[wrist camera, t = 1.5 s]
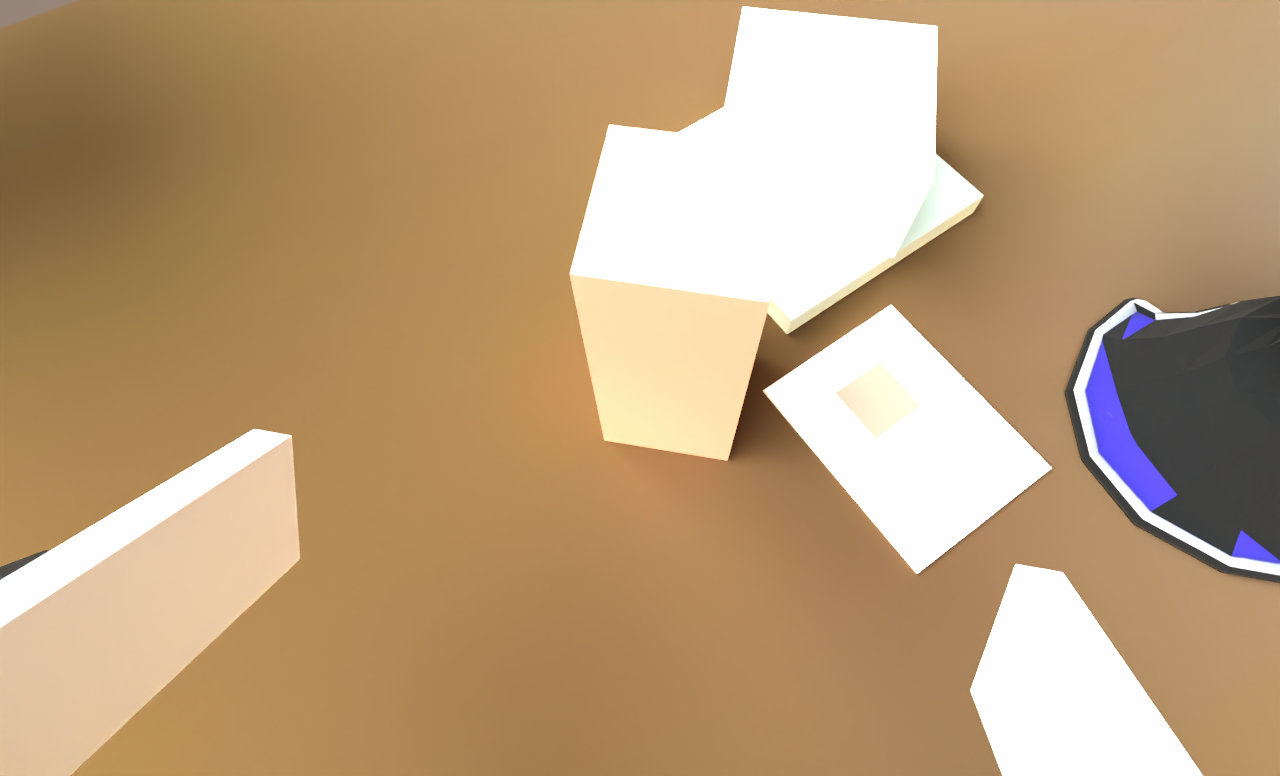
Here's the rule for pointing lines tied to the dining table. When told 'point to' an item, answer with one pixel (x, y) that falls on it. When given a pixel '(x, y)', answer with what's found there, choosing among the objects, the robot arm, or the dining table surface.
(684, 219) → the tall brick
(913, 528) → the page
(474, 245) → the dining table surface
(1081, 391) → the figurine
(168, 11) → the dining table surface
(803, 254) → the plate
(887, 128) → the base brick
